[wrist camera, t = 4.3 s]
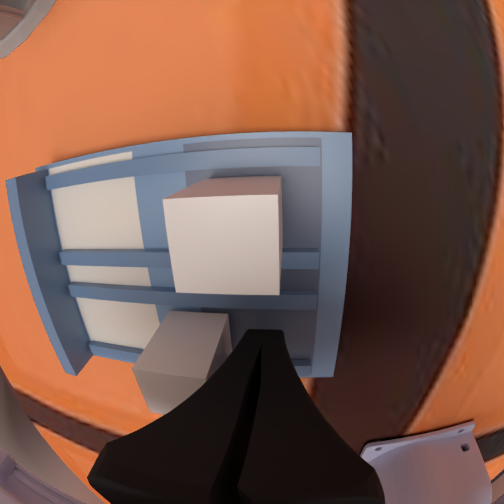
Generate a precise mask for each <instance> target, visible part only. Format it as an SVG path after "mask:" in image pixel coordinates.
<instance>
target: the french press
mask: <svg viewBox="0 0 504 504" xmlns="http://www.w3.org/2000/svg"><path fill="white" fill-rule="evenodd" d="M55 1H56V0H0V58H3V57H6V56H8V55H9V54H10V53H11V52H12V51H13V50H15V49H16V48H17V47H18V46H19V45H20V44H22V43H23V42H24V41H25V40H26V39H27V38H28V36H29V35H30V34H31V33H32V31H33V30H34V29H35V28H36V27H37V25H38V24H39V23H40V22H41V21H42V20H43V18H44V17H45V16H46V15H47V14H48V12H49V10H50V9H51V7H52V6H53V4H54V3H55Z"/></svg>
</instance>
